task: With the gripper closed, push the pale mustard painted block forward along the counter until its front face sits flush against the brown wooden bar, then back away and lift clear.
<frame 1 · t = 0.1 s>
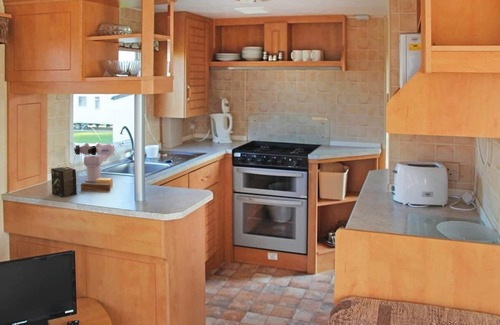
hand: (81, 151, 293), 22 cm above the worktop, tool horizontal, fingers open, 7 cm apart
block: (104, 187, 299), on the worktop
brown wooden bar: (95, 190, 289), on the worktop
tampon box: (64, 194, 279), on the worktop
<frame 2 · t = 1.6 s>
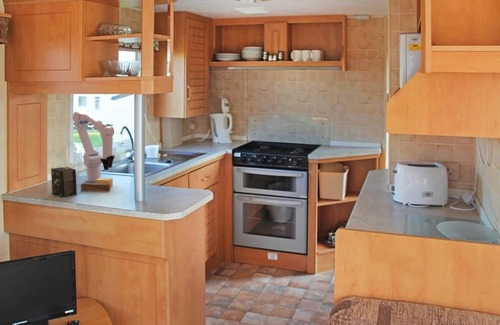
hand: (108, 168, 305), 9 cm above the worktop, tool pointing down, fingers open, 7 cm apart
nothing on the worktop moved.
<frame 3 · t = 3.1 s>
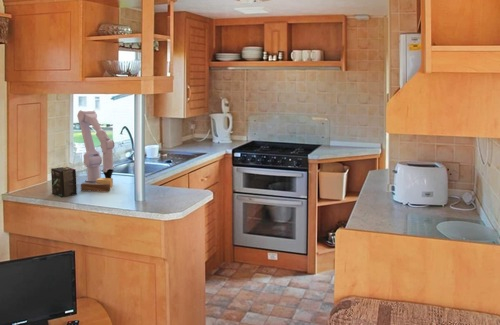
hand: (108, 181, 307), 1 cm above the worktop, tool pointing down, fingers closed
nothing on the worktop moved.
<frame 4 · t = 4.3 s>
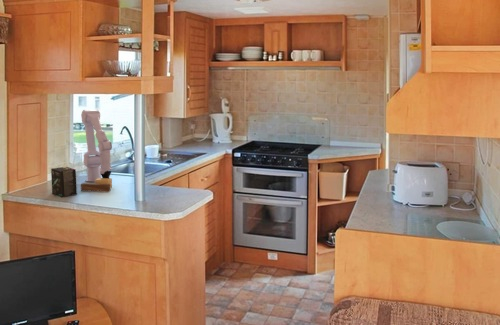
hand: (106, 183, 302), 1 cm above the worktop, tool pointing down, fingers closed
block: (103, 187, 298), on the worktop, touching gripper
everything else where it was.
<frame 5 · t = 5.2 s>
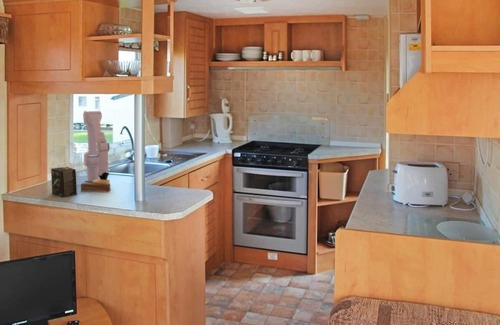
hand: (103, 184, 298), 1 cm above the worktop, tool pointing down, fingers closed
block: (101, 188, 294), on the worktop, touching brown wooden bar, gripper
everything else where it was.
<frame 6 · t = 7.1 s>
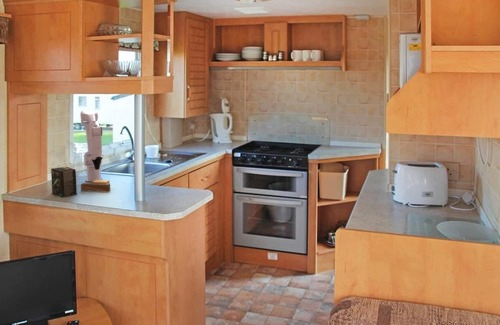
hand: (97, 169, 300), 10 cm above the worktop, tool pointing down, fingers closed
block: (101, 189, 294), on the worktop
everything else where it was.
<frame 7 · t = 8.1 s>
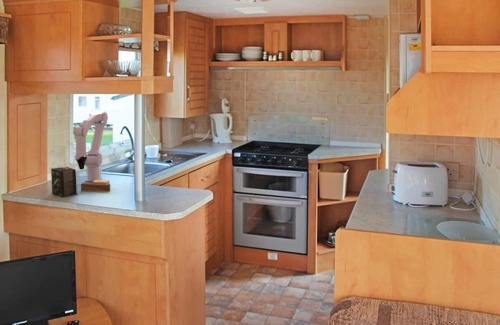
hand: (81, 169, 299), 10 cm above the worktop, tool pointing down, fingers closed
nothing on the worktop moved.
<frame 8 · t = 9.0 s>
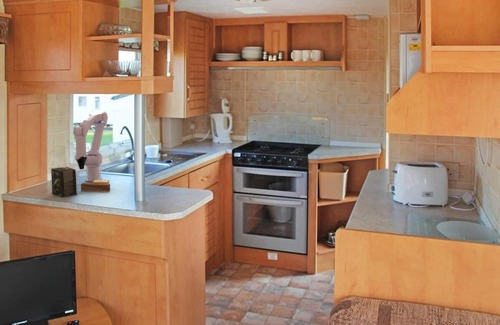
hand: (81, 169, 299), 10 cm above the worktop, tool pointing down, fingers closed
nothing on the worktop moved.
at the end: block 1.0 cm from the target spot on the worktop beside the brown wooden bar, on the worktop; block tilted 0°; block touching worktop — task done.
